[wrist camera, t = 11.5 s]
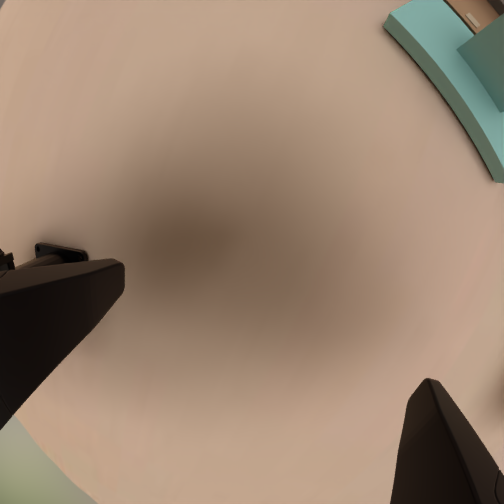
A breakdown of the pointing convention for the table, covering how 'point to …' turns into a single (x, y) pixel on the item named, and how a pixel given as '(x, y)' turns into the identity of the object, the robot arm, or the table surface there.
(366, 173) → the table surface
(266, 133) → the table surface
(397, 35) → the teal t-shaped block
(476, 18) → the board
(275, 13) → the table surface
